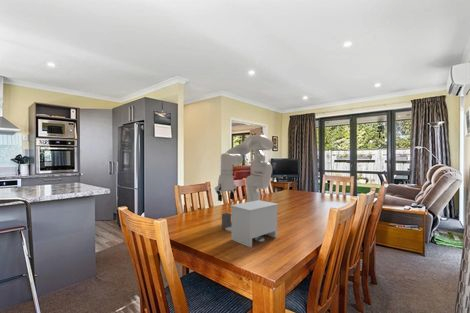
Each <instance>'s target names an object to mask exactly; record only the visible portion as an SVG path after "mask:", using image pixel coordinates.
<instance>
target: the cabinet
mask: <svg viewBox="0 0 470 313" xmlns="http://www.w3.org/2000/svg"><path fill="white" fill-rule="evenodd" d="M278 206H279V203H276V202H272V201H271V202H270V201H265V200H261V199H260V200H257V201H251V202H247V201H246V202H242V203H241V202H240V203H236V204H231V205H230V208H231V226H232V232H231V240H232V241H234V242H236V243H239V244H242V245H244V246H246V247H248V248H252V247H253V239H255V238H256V237H258V236H264V235H266V236H269V237H272V238H275V239H276V238H277V237H278Z"/></svg>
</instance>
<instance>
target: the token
mask: <svg viewBox="0 0 470 313" xmlns="http://www.w3.org/2000/svg"><path fill="white" fill-rule="evenodd" d="M265 239H266V237H264V236H263V235H261V236H258V237H255V238H254V240H255V242H258V243H263V242H265V241H266V240H265Z"/></svg>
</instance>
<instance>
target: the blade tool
mask: <svg viewBox="0 0 470 313" xmlns="http://www.w3.org/2000/svg"><path fill="white" fill-rule="evenodd" d="M221 228H222V229H223V230H225V231H228V232H231V233H232V213H229V212H224V213H222V214H221Z"/></svg>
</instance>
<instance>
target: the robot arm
mask: <svg viewBox="0 0 470 313" xmlns="http://www.w3.org/2000/svg"><path fill="white" fill-rule="evenodd" d="M273 147H274V142H273V140H272V139H271V138H269V137H267V136H265V135H263V134H253V135H252V134H251V135H248V137H246V138H245V139H244V140H243V141H242V142H241V143H240V144H237V145H235V146H233V147H230V148H229V149H228V150H226V152H224V153H221V155H220V175H219V176H218V180H217V182H218V183H217V185H216V186H215V187H214V190H215V192H216V194H217V201H218V202H223V193H224V192H229V199H230V200H233V201H234V200H235V193H236V191H237V188H238V186H237V185H236V184H235V180H234V171H233V166H239V165H241V164H243V160H244V158H243V156H245V155H247V154H250V152H251V151H252V152H253V154H254V159H253V161H252V165H251V168H250V169H251V171H250V172H251V173H252V174H250V175H248V176H247V177H246V178H245V184H246V192H247V193H246V194H247V195H246V198H247V199H246V202H251V201H257V200H261V192H260V190H259V189H261V190H266V189H268V187H269V186H270V182H271V178H272V174H273V166H272V164H271V163H270V162H266V155H265V153H264V152H263V151H271V150H272V149H273Z"/></svg>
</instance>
